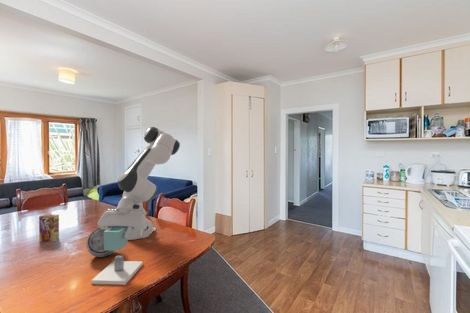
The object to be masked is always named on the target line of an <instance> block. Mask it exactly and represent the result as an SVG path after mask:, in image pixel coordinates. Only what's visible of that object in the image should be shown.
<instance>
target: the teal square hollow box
mask: <svg viewBox="0 0 470 313" xmlns="http://www.w3.org/2000/svg"><path fill="white" fill-rule="evenodd" d="M126 231H127V227H124V226H113V227H111V228H109V229H107V230H106V231H104V250H112V251H114V252H115V251H116V252H117V251H119V252H120V250H122V249H123V248H125V247H126V246H127V245H128V240H127V238H122V235H123V233H126Z"/></svg>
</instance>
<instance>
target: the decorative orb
mask: <svg viewBox="0 0 470 313" xmlns="http://www.w3.org/2000/svg"><path fill="white" fill-rule="evenodd" d="M104 231H105V229H101V228H99V227H97V228H95V229H94V230H92V231H91V232H90V234H89V235H88V237H87V240H86V248H87V249H86V250H88V252H89V253H90V255H92V256H94V257H96V258H97V257H98V258H104V257H107V256H110V255H112V254H114V252H115V251H112V250H104Z"/></svg>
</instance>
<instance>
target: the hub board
mask: <svg viewBox="0 0 470 313" xmlns="http://www.w3.org/2000/svg"><path fill="white" fill-rule="evenodd" d="M143 265H144V261H137V260H135V261H134V260H133V261H131V260H124V269H123V270H122V271H114V260H113V261H112V262H110V264H108V265H107V266H106V267H105V268H104V269H103V270H101V271H100V272H99V273H98V274H96V275H95V276H94V277H93V278H92V279H90V283H91V284H92V285H119V286H120V285H121V286H123V285H124V286H126V285H127V283H128V282H129V281H130V280H131V279H132V278H133V277H134V275H135V274H136V273H137V272H139V270H140V269H141V267H142V266H143Z"/></svg>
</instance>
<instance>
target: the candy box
mask: <svg viewBox="0 0 470 313" xmlns="http://www.w3.org/2000/svg"><path fill="white" fill-rule="evenodd" d="M38 216H39V217H38V220H39V221H38V223H39V224H38V226H39V227H38V229H39V233H38V234H39V238H38V239H39V242H40V243H45V242H46V243H47V242H48V243H49V242H50V243H52V242H55V241H58V240H60V214H42V215H38Z"/></svg>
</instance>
